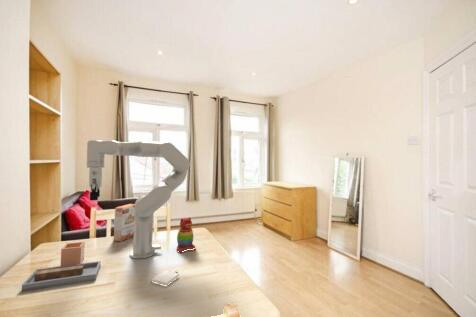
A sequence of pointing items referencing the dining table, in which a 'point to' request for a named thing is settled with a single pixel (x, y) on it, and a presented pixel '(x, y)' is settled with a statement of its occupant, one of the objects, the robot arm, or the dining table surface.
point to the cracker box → (124, 222)
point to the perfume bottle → (165, 277)
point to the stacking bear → (185, 235)
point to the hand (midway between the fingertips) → (94, 198)
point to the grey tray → (88, 275)
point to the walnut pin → (58, 273)
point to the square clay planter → (72, 253)
